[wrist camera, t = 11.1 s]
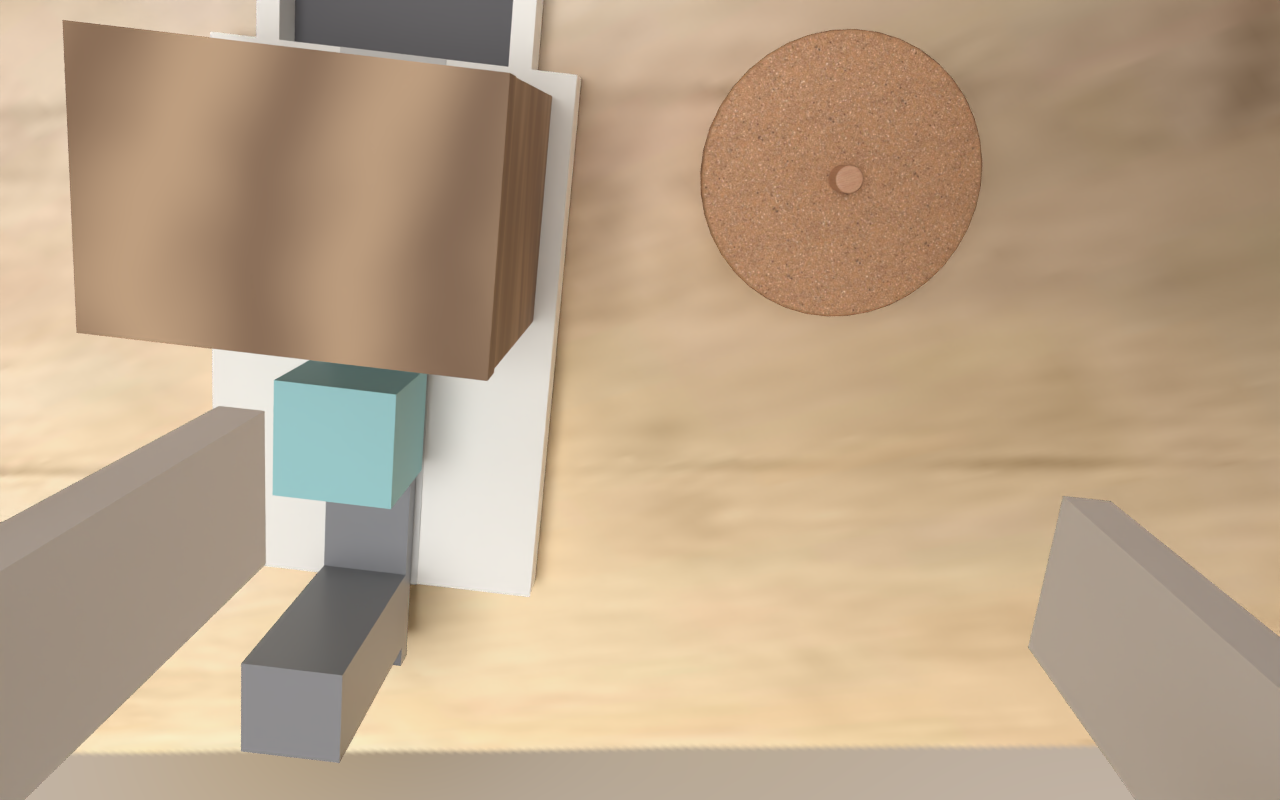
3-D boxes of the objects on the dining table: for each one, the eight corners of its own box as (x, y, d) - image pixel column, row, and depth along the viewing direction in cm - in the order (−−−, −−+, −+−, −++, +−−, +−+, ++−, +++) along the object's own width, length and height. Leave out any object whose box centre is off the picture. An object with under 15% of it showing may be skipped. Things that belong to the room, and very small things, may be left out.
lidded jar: (669, 89, 42) (669, 71, 33) (903, 21, 41) (970, -17, 32) (726, 314, 44) (741, 355, 35) (947, 256, 43) (1021, 282, 34)
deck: (597, -91, 40) (593, -104, 38) (535, 579, 48) (529, 598, 46) (231, -134, 40) (208, -150, 38) (231, 543, 48) (212, 560, 46)
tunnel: (554, 96, 40) (510, 73, 29) (535, 321, 43) (487, 381, 31) (231, 58, 40) (59, 19, 29) (231, 285, 43) (73, 332, 31)
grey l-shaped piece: (425, 298, 42) (353, 339, 33) (406, 655, 47) (338, 783, 37) (339, 288, 42) (241, 326, 33) (328, 646, 47) (241, 772, 37)
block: (427, 367, 42) (396, 394, 37) (421, 469, 43) (390, 509, 39) (319, 354, 42) (273, 380, 37) (316, 457, 43) (272, 495, 39)
